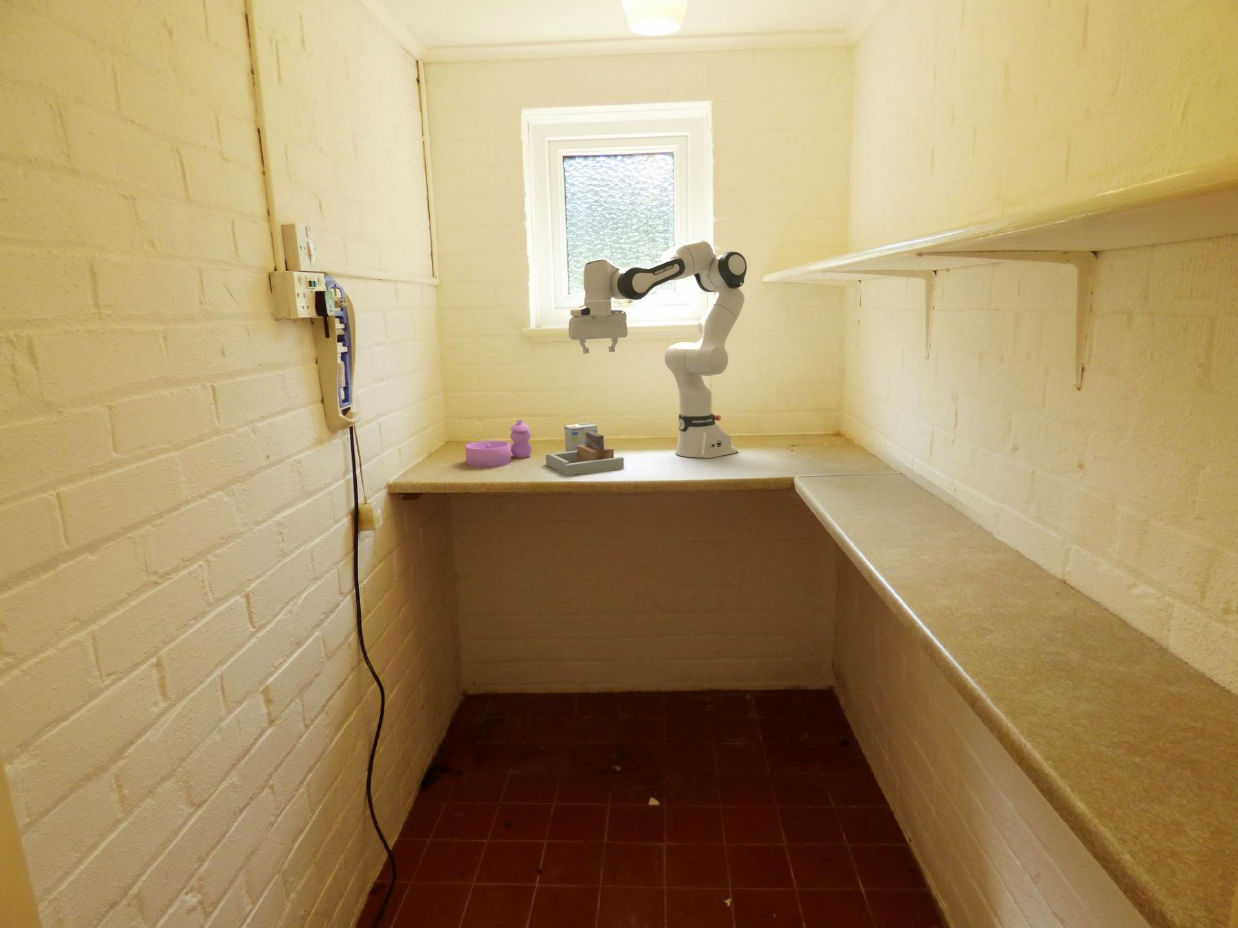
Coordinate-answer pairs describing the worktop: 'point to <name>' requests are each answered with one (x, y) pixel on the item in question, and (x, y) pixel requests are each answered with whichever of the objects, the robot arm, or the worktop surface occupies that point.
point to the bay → (581, 463)
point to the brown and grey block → (594, 448)
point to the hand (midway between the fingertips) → (599, 352)
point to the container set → (500, 449)
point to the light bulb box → (577, 435)
